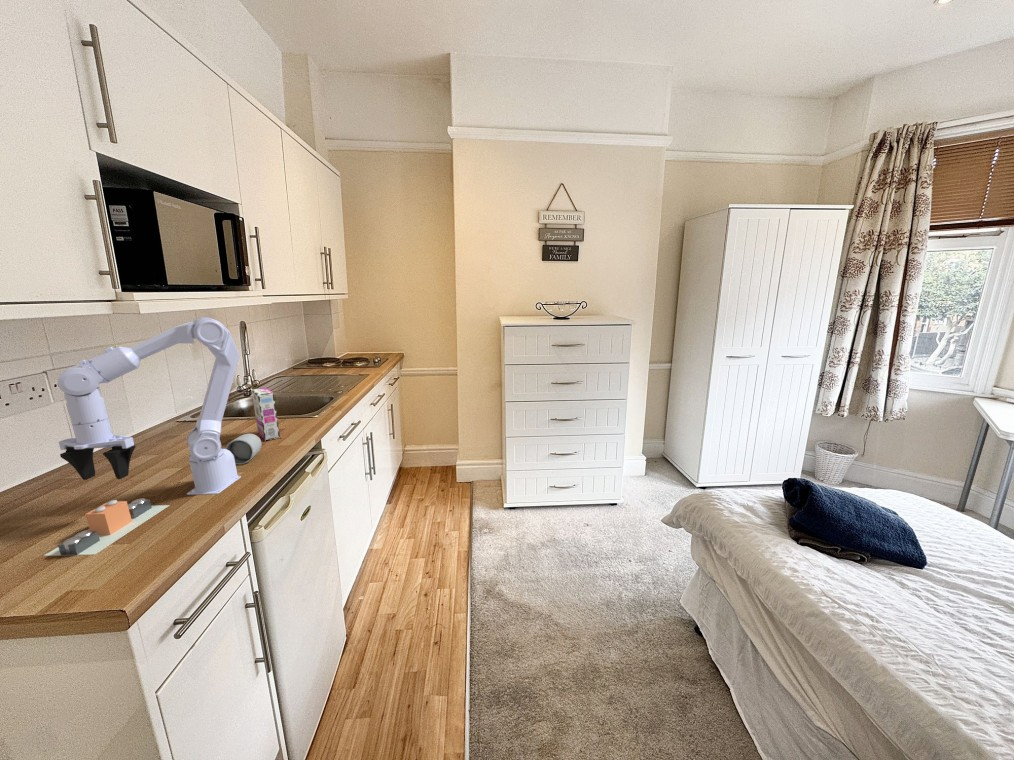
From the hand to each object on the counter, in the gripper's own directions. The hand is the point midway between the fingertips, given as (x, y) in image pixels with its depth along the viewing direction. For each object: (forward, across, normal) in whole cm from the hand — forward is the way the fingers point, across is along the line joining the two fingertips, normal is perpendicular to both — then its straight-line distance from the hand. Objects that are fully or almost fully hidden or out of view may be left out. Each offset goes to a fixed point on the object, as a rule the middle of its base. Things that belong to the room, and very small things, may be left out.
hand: (106, 477), depth 91 cm
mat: (+9, +5, -6) cm, 12 cm away
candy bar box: (+10, +7, +50) cm, 51 cm away
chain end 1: (+9, +5, -13) cm, 16 cm away
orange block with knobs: (+9, +5, -6) cm, 12 cm away
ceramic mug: (+10, +10, +30) cm, 33 cm away
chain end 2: (+9, +5, 0) cm, 10 cm away
